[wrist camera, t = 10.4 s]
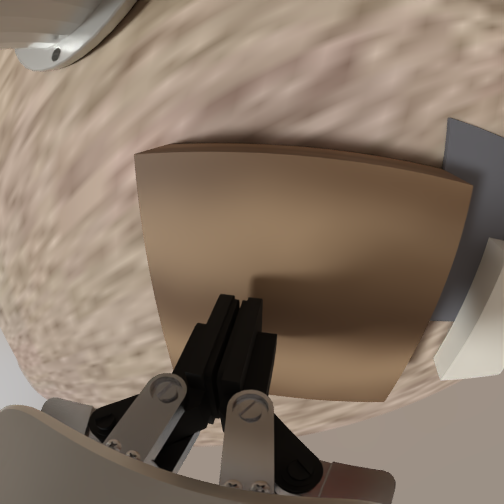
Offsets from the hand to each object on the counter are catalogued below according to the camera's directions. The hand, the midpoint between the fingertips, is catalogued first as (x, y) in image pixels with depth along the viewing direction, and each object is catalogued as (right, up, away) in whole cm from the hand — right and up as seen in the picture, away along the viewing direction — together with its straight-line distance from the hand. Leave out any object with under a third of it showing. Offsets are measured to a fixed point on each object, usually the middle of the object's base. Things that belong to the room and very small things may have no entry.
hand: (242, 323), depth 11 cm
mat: (+14, +4, 0) cm, 14 cm away
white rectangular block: (+15, -2, -1) cm, 15 cm away
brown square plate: (+3, +2, +3) cm, 4 cm away
